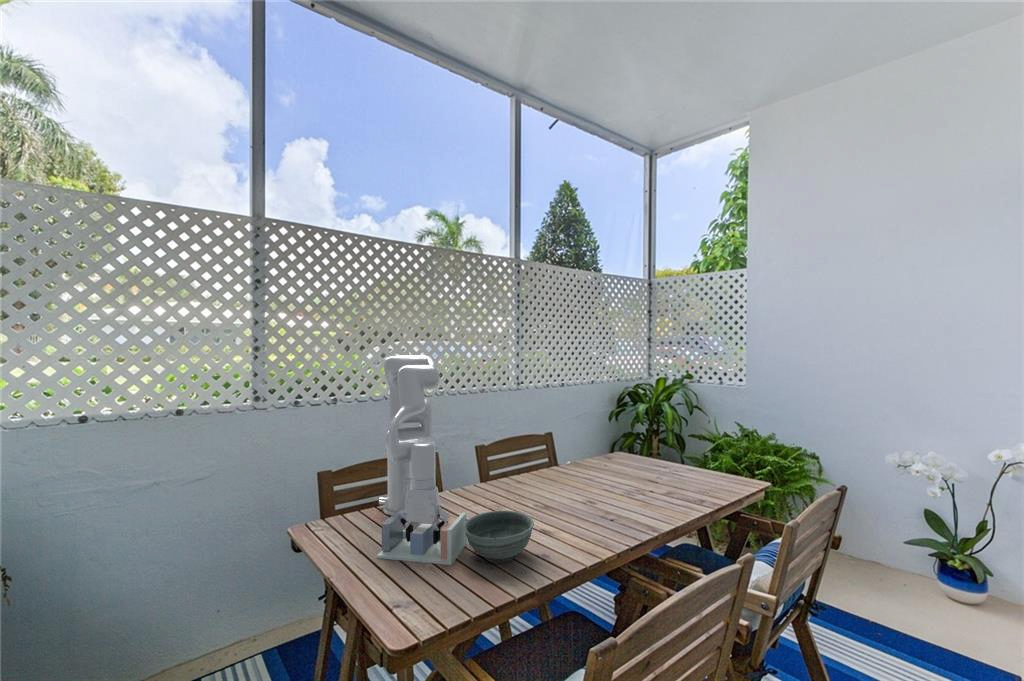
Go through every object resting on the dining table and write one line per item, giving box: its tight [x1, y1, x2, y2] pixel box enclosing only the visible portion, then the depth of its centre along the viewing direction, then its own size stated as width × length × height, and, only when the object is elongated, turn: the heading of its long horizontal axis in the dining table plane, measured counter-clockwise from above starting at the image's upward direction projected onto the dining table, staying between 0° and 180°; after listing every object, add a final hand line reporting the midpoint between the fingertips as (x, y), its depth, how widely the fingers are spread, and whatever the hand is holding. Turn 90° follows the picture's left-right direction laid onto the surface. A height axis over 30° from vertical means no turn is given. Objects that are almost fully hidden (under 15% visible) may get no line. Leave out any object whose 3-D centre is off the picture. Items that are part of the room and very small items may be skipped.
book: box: [410, 523, 435, 555], centre depth 134 cm, size 4×9×6 cm, turn 168°
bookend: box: [381, 513, 404, 551], centre depth 136 cm, size 2×9×8 cm, turn 168°
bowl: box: [464, 510, 535, 564], centre depth 130 cm, size 21×21×10 cm
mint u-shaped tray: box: [376, 511, 467, 566], centre depth 134 cm, size 23×14×10 cm, turn 78°
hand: (423, 540), depth 134 cm, fingers open, 8 cm apart
